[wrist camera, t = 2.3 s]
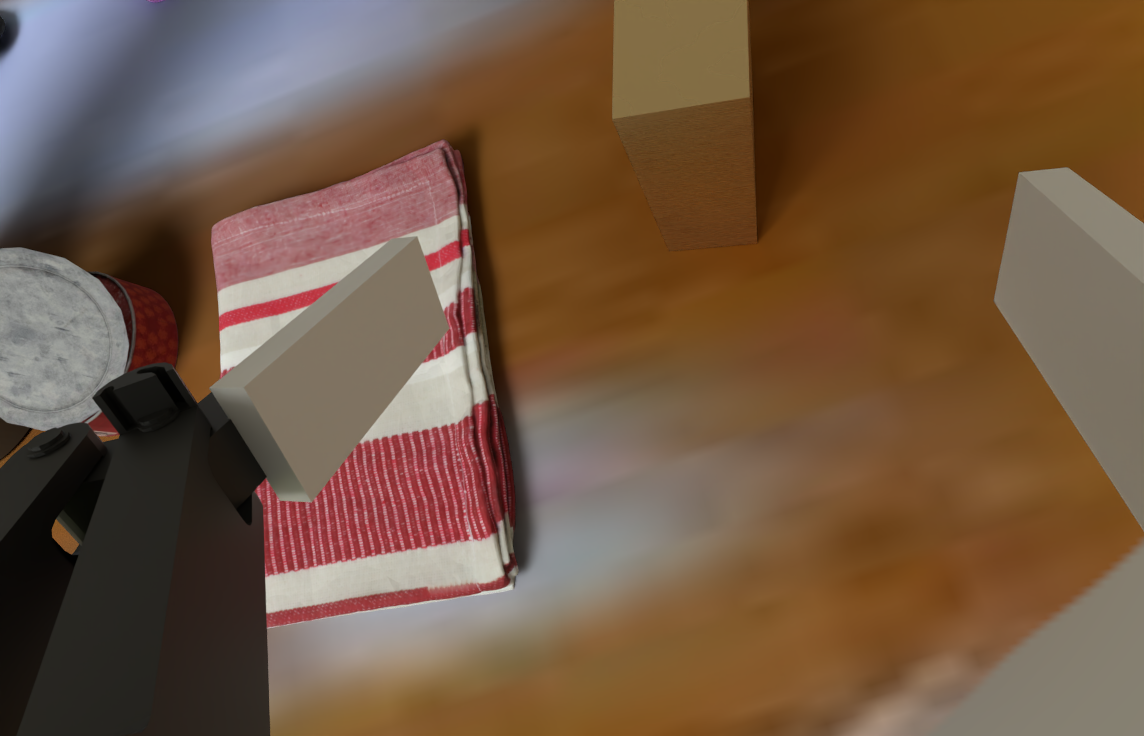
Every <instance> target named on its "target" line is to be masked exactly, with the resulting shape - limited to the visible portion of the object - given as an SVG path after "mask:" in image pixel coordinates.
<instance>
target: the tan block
mask: <svg viewBox="0 0 1144 736" xmlns="http://www.w3.org/2000/svg"><path fill="white" fill-rule="evenodd" d="M612 120H613V122H614V125H615V127H616V129H617V132H618V134H619V136H620V139H621V141H622V143H623V146H624V148H625V150H626V153H627V155H628V157H629V160H630V162H631V164H632V167H633V169H634V171H635V174H636V176H637V178H638V181H639V183H640V185H641V188H642V190H643V192H644V195H645V197H646V199H647V201H648V204H649V206H650V208H651V211H652V213H653V215H654V218H655V220H656V222H657V225H658V227H659V229H660V232H661V234H662V236H663V239H664V241H665V243H666V246H667V248H668V250H669V251H678V250H689V249H701V248H712V247H723V246H734V245H746V244H757V216H756V183H755V149H754V115H753V82H752V59H751V36H750V13H749V0H614V43H613V98H612Z"/></svg>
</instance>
